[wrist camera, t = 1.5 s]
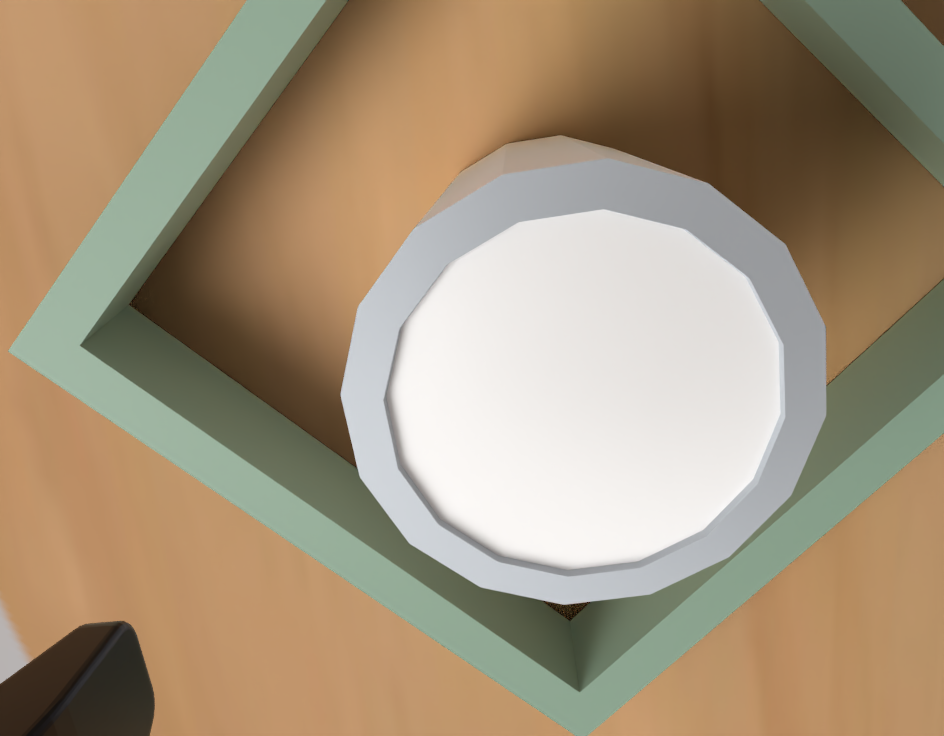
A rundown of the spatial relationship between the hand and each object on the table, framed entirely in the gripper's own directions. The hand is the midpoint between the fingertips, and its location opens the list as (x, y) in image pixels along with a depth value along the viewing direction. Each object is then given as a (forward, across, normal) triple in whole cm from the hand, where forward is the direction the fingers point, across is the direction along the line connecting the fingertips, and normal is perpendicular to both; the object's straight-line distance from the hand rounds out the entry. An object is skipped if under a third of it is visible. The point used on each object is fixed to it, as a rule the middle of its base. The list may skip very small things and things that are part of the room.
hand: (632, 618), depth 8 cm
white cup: (+12, 0, 0) cm, 12 cm away
